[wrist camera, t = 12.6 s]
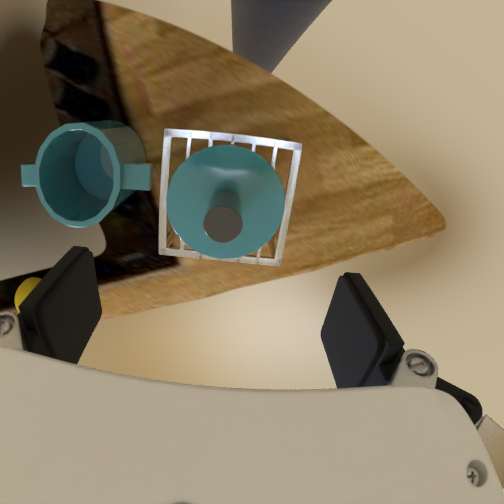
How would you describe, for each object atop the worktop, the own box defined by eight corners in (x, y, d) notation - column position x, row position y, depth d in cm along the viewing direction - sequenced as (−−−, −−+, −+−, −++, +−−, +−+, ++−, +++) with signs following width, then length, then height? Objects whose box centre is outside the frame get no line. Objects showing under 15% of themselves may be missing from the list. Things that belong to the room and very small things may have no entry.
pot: (57, 123, 28) (17, 129, 20) (172, 120, 30) (151, 121, 22) (57, 200, 32) (21, 222, 25) (165, 207, 34) (146, 233, 26)
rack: (176, 127, 30) (164, 128, 24) (291, 139, 31) (302, 143, 26) (169, 233, 35) (158, 254, 30) (273, 243, 37) (280, 266, 31)
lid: (172, 139, 25) (153, 145, 19) (292, 152, 26) (308, 161, 20) (166, 248, 30) (151, 281, 24) (273, 259, 31) (282, 293, 25)
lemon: (30, 265, 36) (3, 291, 29) (56, 272, 37) (30, 301, 30) (35, 293, 38) (11, 321, 31) (60, 301, 39) (37, 332, 32)
